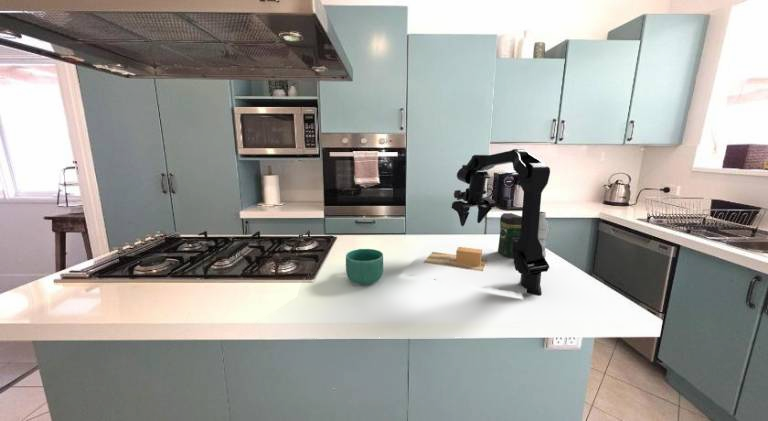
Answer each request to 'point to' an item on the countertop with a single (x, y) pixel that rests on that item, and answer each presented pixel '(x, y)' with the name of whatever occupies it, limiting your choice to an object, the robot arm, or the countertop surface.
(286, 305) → the countertop surface
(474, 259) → the block
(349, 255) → the mug
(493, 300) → the countertop surface
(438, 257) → the oak board
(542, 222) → the plastic bottle
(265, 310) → the countertop surface
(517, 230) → the coffee jar
